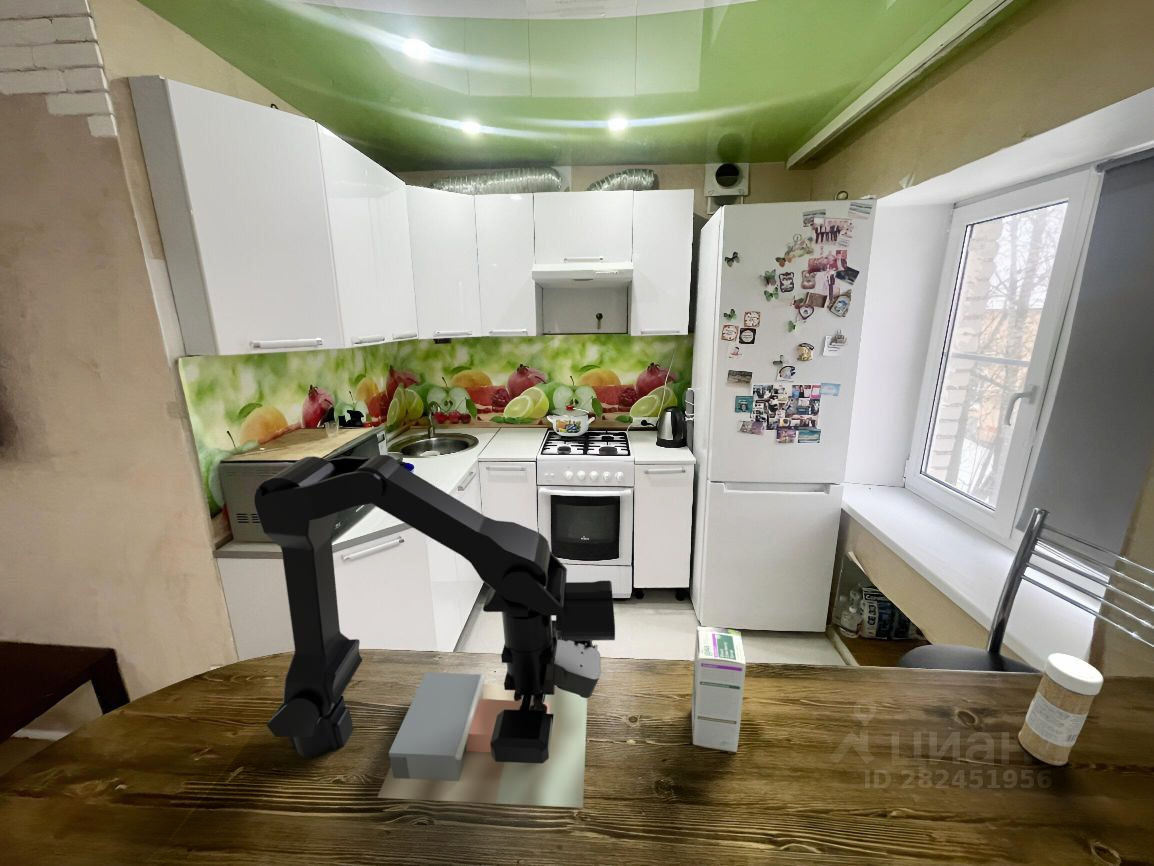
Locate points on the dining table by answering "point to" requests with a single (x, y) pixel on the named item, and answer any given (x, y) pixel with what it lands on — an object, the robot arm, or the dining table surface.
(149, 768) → the dining table surface
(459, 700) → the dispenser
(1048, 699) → the sprinkles bottle
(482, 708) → the pink eraser
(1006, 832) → the dining table surface
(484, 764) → the board
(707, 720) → the syrup box
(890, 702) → the dining table surface
